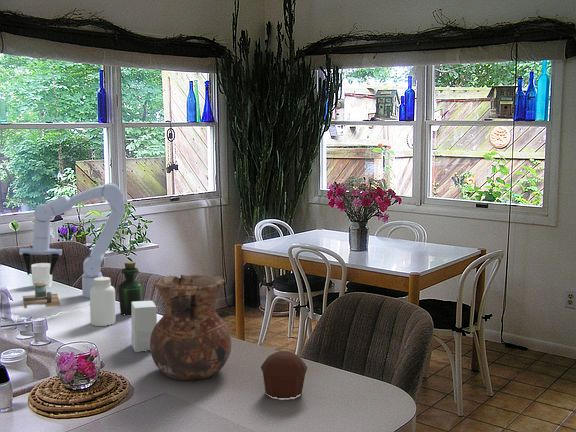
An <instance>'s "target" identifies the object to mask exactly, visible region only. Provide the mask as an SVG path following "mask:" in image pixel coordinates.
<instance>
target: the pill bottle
mask: <svg viewBox="0 0 576 432" xmlns="http://www.w3.org/2000/svg"><path fill="white" fill-rule="evenodd" d="M111 279H112V278H110V277H108V276H103V277H98V278H95V279H94V285H95V286H94V287H92V288H91V290H90V298H89V308H90V310H89V311H90V313H89V314H90V315H89V316H90V318H89V319H90V324H91V326H94V327H108V326H107V325H109V326H112V325H114V324H115V323H116V317H117V316H116V315H117V314H116V289H115V287H114V286H112V283H111V281H112V280H111ZM111 324H112V325H111Z"/></svg>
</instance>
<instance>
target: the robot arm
mask: <svg viewBox="0 0 576 432" xmlns="http://www.w3.org/2000/svg"><path fill="white" fill-rule="evenodd" d="M103 198H104V200H105V201H106V202H107V203H108V205H109V207H110V209H111V212H110V214H109V215H108V218H107V220H106V222H105V224H104V226H103V228H102V230H101V232H100V234H99V237H98V238H97V239H96V243H95V245H94V246H93V248H92V250H91V252H90V254H88V256H87V257H85V259H84V260H83V263H82V264H83V265H82V267H83V268H82V269H83V273H82V275H81V276H82V277H81V282H82V283H81V285H82V288H81V289H82V294H81V295H82V297H83V298H87V299H88V298H89V299H90V290H91V288H92V287H94V286H95V285H94V279H95V278H98V277H104V276H103V273H102V272H101V270H102V262H103V260H104V258H105V254H106V252H107V250H108V248H109V246H110V244H111V242H112V240H113V238H114V235H115V234H116V232H117V230H118V227H119V225H120V224H121V222H122V220H123V217H124V216H125V213H126V207H125V202H124V201H125V200H124V195H123V193H122V191H121V190H120V187H119V186H118V185H117V184H116V183H114V182H113V183H112V182H109V183H106V184H102V185H98V186H94V187H92V188H89V189H87V190H84V191H82V192H80V193H77V194H75V195H73V196H70V197H69V196H66V195H63V196H62V195H57V198H55V199H53V200H51V201H48V200H46V201H45V202H44V203H40V204H39V205H37V206H36V207H35V209H34V211H33V212H34V213H33V215H34V219H33V220H34V221H33V222H34V225H33V234H32V235H33V236H32V238H33V239H32V247H28V248H27V247H26V248H19V253H18V254H19V255H20V256H22V258H23V261H24V263H25V266H26V273H27V275H28V276H30V275H31V273H30V272H31V271H30V270H31V268H30V267H31V266H30V264H31V255H37V256H39V255H43V256H46V255H50V275H52V276H53V272H54V268H55V266H56V264H57V262H58V260H59V258H60V257H59V256H63V255H62V254H63V249H61V248H50V243H51V242H50V241H51V217H57V216H59V215H62V214H65V213H67V212H70V211H72V210H73V207H74V206H75V205H78V204H81V203H84V202H86V201H89V200H92V199H97V200H103Z"/></svg>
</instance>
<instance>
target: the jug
mask: <svg viewBox="0 0 576 432" xmlns="http://www.w3.org/2000/svg"><path fill="white" fill-rule="evenodd" d="M224 283H225V278H224V277H222V276H220V275H213V274H212V275H210V274H191V275H187V274H186V275H185V274H181V275H180V277H178V276H176V275H175V276H174V275H173V276H172V275H167V276H164V277H163V278H162V279H160V280H159V281H157V282H155V284H154V286H155V288H157V289H156V290H158V291H159V293H160V295H161V297H162V299H163V302H164V306H165V307H164V308H165V311H164V314H163V316H162V317H161V318H160V319H159V321H158V320H157V321H158V322H157V324H156V325H155V327H154V329H153V331H152V334H151V338H150V351H149V352H150V354H151V357H152V361H153V362H154V364H155V366H156V367H157V368H158V370H159V371H160V372H162V374H164V375H166V376H167V377H169V378H170V379H173V378H174V379H173V380H177V379H179V380H178V381H195V380H194V379H197V380H202V379H207V378H206V377H208V378H210V376H211V377H213V376H215V375H216V374H217V373H219V372H220V370H222V369H223V367H224V366H225V365H226V363H227V361H228V359H229V357H230V354H231V351H232V347H233V345H232V344H233V343H232V342H233V341H232V336H231V332H230V329H229V327H228V325H227V323H226V321H224V319H223V318H222V317H221V316H220V315H219V314H218V313H217V311H216V301H217V296H218V294H219V291H220V290H221V289H222V286H223V285H224ZM212 375H213V376H212ZM201 378H202V379H201Z"/></svg>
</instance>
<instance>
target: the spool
mask: <svg viewBox="0 0 576 432" xmlns="http://www.w3.org/2000/svg"><path fill="white" fill-rule="evenodd" d="M46 285H47V283H46V282H37V283H34V286H35V288H34V295H35V297H47V296H46V294H47V288H46Z"/></svg>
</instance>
